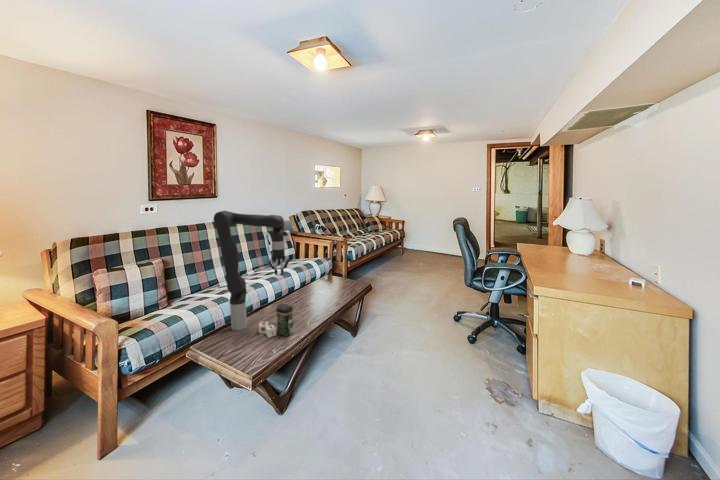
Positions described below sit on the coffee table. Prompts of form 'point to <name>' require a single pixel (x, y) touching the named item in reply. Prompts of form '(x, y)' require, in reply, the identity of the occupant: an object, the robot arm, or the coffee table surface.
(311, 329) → the coffee table surface
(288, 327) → the coffee jar
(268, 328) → the marked block
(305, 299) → the coffee table surface
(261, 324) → the marked block
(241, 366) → the coffee table surface
